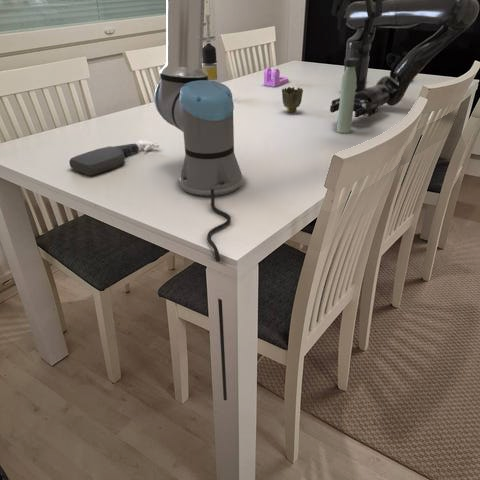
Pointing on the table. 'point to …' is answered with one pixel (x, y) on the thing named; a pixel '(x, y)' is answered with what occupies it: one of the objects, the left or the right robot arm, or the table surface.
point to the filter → (209, 56)
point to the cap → (351, 62)
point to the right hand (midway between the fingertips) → (343, 111)
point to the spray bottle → (106, 157)
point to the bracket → (273, 78)
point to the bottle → (346, 100)
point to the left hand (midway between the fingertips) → (353, 43)
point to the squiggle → (395, 64)
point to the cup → (292, 98)
